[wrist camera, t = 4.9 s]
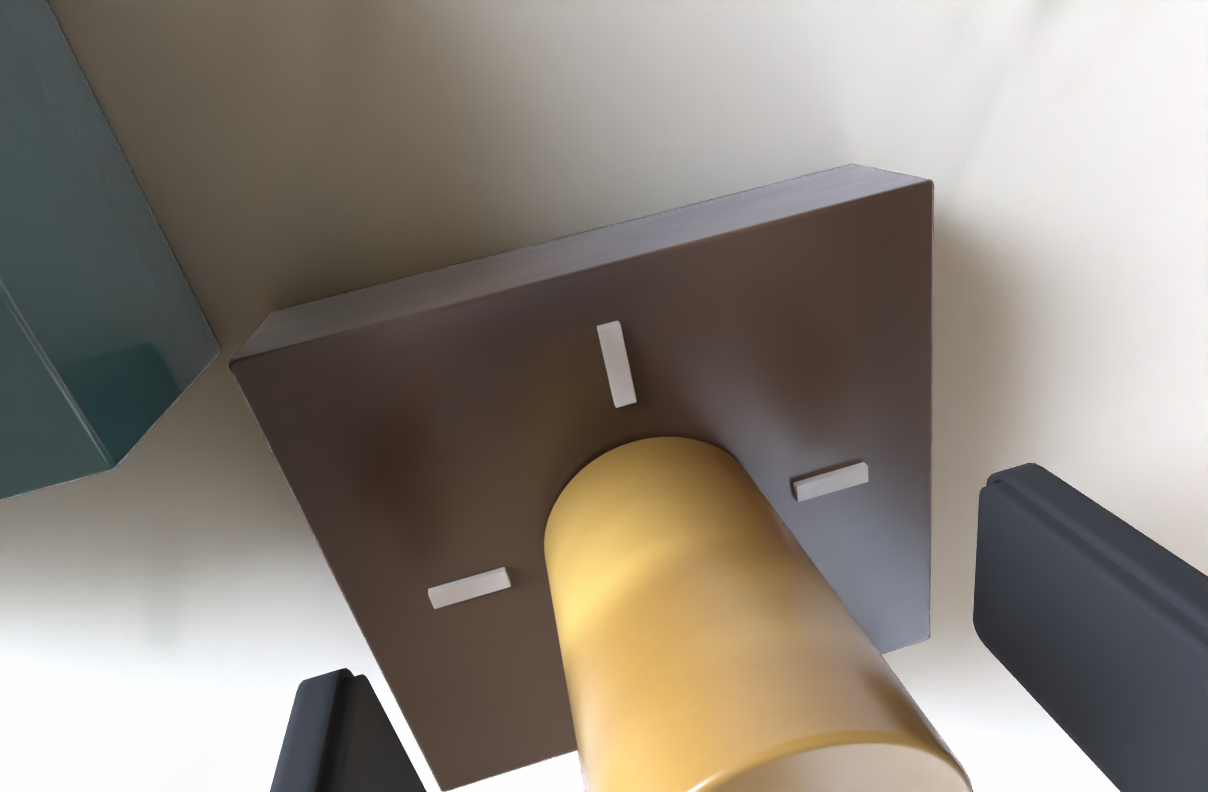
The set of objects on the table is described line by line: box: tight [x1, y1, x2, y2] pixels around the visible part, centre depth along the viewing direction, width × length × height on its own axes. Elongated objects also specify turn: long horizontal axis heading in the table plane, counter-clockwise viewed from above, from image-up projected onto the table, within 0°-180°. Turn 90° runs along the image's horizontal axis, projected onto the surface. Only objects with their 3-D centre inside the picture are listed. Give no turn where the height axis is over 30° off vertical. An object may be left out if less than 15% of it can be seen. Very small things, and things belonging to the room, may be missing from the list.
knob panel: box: [229, 164, 934, 792], centre depth 13 cm, size 11×10×3 cm
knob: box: [544, 437, 973, 792], centre depth 10 cm, size 4×4×6 cm
